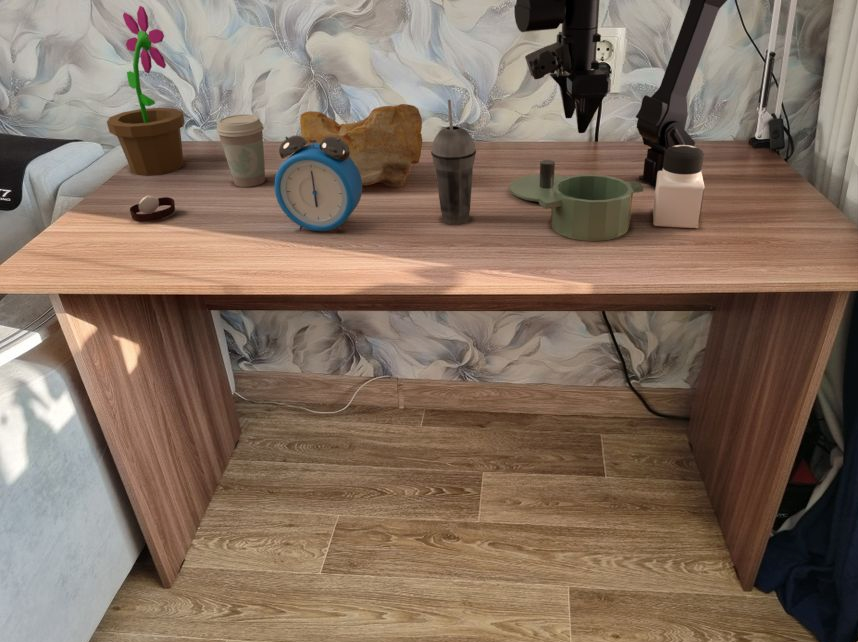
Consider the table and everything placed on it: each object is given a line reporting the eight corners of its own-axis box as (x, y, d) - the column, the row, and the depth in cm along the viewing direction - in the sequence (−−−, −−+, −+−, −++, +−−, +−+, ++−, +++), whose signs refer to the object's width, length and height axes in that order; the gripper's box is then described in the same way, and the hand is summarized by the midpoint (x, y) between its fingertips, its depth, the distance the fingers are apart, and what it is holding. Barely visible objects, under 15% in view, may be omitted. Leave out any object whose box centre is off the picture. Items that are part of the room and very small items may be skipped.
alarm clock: (280, 231, 121) (265, 141, 113) (293, 217, 126) (279, 130, 118) (356, 234, 119) (346, 143, 111) (367, 220, 124) (358, 132, 116)
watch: (170, 207, 131) (165, 188, 129) (182, 214, 128) (177, 194, 126) (128, 219, 127) (122, 199, 125) (139, 226, 124) (133, 206, 122)
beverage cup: (482, 213, 125) (481, 94, 115) (469, 230, 120) (466, 105, 109) (443, 209, 128) (438, 91, 117) (427, 225, 122) (421, 102, 111)
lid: (497, 185, 137) (497, 156, 134) (560, 175, 141) (562, 146, 138) (530, 210, 126) (530, 179, 123) (597, 198, 131) (600, 167, 128)
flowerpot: (208, 162, 152) (175, 5, 136) (151, 183, 142) (107, 15, 126) (164, 152, 159) (127, 1, 143) (106, 171, 149) (59, 11, 133)
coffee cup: (218, 186, 140) (204, 123, 133) (245, 172, 146) (233, 112, 140) (255, 191, 137) (243, 127, 131) (281, 177, 144) (271, 115, 137)
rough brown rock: (440, 171, 147) (435, 93, 140) (421, 194, 132) (415, 108, 126) (330, 171, 151) (320, 95, 144) (300, 193, 136) (288, 110, 129)
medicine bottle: (698, 229, 118) (710, 156, 112) (653, 226, 119) (662, 154, 113) (695, 212, 124) (706, 142, 117) (652, 210, 125) (661, 140, 119)
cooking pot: (523, 221, 122) (524, 183, 119) (615, 204, 128) (618, 167, 125) (560, 249, 112) (562, 209, 109) (658, 229, 118) (662, 191, 115)
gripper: (519, 20, 123) (518, 113, 132) (542, 39, 108) (539, 144, 116) (583, 17, 124) (579, 110, 133) (615, 35, 109) (607, 140, 117)
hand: (574, 125), depth 125 cm, fingers open, 9 cm apart
